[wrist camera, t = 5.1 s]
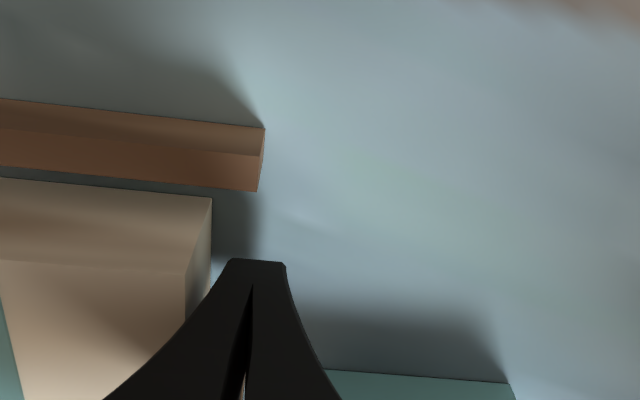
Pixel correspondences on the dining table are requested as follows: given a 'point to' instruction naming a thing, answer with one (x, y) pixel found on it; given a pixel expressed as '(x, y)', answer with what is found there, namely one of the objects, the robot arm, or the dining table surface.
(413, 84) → the dining table surface
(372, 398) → the teal toy building
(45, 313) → the stub
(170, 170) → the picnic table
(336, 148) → the dining table surface
